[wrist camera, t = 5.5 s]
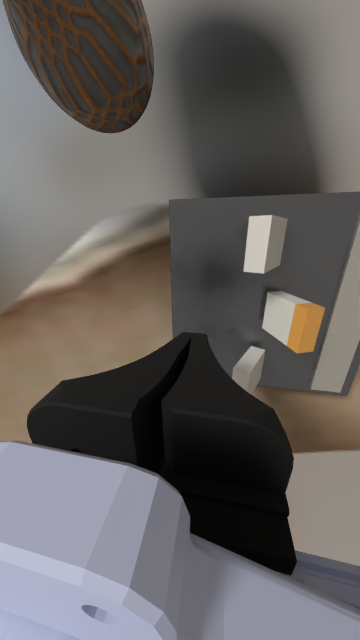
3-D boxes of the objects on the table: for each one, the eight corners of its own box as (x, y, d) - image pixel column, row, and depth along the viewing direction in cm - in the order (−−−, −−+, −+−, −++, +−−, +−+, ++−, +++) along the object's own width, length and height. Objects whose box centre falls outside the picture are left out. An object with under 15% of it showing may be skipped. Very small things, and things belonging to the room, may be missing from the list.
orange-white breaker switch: (275, 326, 17) (313, 351, 13) (262, 327, 17) (297, 353, 13) (281, 291, 16) (325, 307, 12) (267, 292, 16) (307, 309, 12)
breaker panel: (336, 381, 20) (348, 398, 18) (177, 364, 23) (173, 377, 21) (400, 194, 14) (431, 187, 12) (174, 203, 17) (168, 199, 15)
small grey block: (260, 378, 19) (244, 406, 16) (247, 373, 19) (229, 399, 16) (265, 349, 18) (249, 374, 15) (251, 345, 18) (233, 368, 15)
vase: (151, -5, 13) (38, -377, 5) (174, 130, 15) (121, 21, 7) (62, 44, 15) (-127, -176, 7) (95, 159, 17) (-17, 95, 9)
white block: (279, 265, 15) (263, 273, 12) (262, 264, 15) (243, 271, 12) (287, 218, 14) (272, 214, 11) (268, 219, 14) (249, 216, 11)
